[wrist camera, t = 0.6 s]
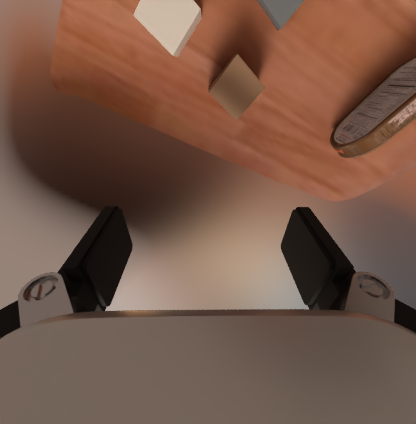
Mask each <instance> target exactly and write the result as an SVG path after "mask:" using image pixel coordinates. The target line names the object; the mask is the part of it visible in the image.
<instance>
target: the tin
mask: <svg viewBox="0 0 416 424" xmlns="http://www.w3.org/2000/svg"><path fill="white" fill-rule="evenodd" d="M415 119H416V57H414V58H412V59H411V60H409V61H408V62H406V63H405V64H403V65H402V66H400V67H399V68H398V69H396V70H395V71H394V72H393V73H391V74H390V75H389V76H388V77H387V78H386V79H385V80H384V81H383V82H382V83H381V84H380V85H378V86H377V87H376V88H375V89H374V90H373V91H372V92H371V93H370V94H369V95H368V96H367V97H366V98H364V99H363V100H362V101H361V102H360V103H359V104H358V105H357V106H356V107H355V108H354V109H353V110H352V111H351V112H350V113H348V114H347V115H346V116H345V117H344V118H343V119H342V120H341V121H340V122H339V123H338V125H337V126H336V127H335V129H334V130H333V132H332V134H331V137H330V143H331V145H332V147H333V148H334V149H335V150H336V151H337V152H338V154H339V155H340V156H341V157H344V158H355V157H359V156H362V155H365V154H367V153H370V152H372V151H374V150H376V149H377V148H379V147H380V146H382V145H383V144H385V143H386V142H387V141H389V140H390V139H391V138H392V137H394V136H395V135H396V134H398V133H399V132H400V131H401V130H403V129H404V128H405V127H407V126H408V125H409V124H410V123H412V122H413V121H414V120H415Z"/></svg>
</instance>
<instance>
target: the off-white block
mask: <svg viewBox="0 0 416 424" xmlns="http://www.w3.org/2000/svg"><path fill="white" fill-rule="evenodd" d="M133 16H134V17H135V18H136V19H137V20H138V21H139V22H140V23H141V24H142V25H143V26H144V27H145V28H146V29H147V30H148V31H149V32H150V33H151V34H152V35H153V36H154V37H155V38H156V39H157V40H158V41H159V42H160V43H161V44H162V45H163V46H164V47H165V48H166V49H167V50H168V51H169V52H170V53H171V54H172V55H173V56H176V57H178V56H179V54H180V53H181V51H182V49H183V48H184V46H185V44H186V43H187V41H188V39H189V38H190V36H191V34H192V33H193V31H194V30H195V28H196V26H197V25H198V23H199V21H200V20H201V18H202V17H201V9H200V8H199V6H198V5H197V4H196V3H195V1H194V0H140V2H139V4H138V6H137V9H136V11H135V13H134V15H133Z"/></svg>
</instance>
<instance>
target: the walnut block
mask: <svg viewBox="0 0 416 424" xmlns="http://www.w3.org/2000/svg"><path fill="white" fill-rule="evenodd" d="M208 89H209V93H210V94H211V95H212V96H213V97H214V98H215V99H216V100H217V101H218V102H219V103H220V104H221V105H222V106H223V107H224V108H225V109H226V110H227V111H228V112H229V113H230V114H231V115H232V116H233V118H234V119H235V120H237V119H238V118H239V117H240V116H241V115H242V113H243V112H244V111H245V110H246V109H247V108H248V107H249V106H250V104H251V103H252V102H253V101H254V100H255V99H256V98H257V96H258V95H259V94H260V93H261V92H262V91H263V90H264V89H265V87H264V86H263V84H262V83H261V82H260V81H259V80H258V78H257V77H256V76H255V75H254V73H253V72H252V71H251V70H250V69H249V67H248V66H247V65H246V64H245V62H244V61H243V60H242V59H241V58H240V56H239V55H238V54H236V55H233V56H232V57H231V59H230V60H229V61H228V63H227V64H226V65H225V67H224V68H223V69H222V71H221V72H220V74H219V75H218V76H217V78H216V79H215V80H214V82H213V83H212V84H211V86H210V87H209V88H208Z"/></svg>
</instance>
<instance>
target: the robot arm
mask: <svg viewBox="0 0 416 424" xmlns="http://www.w3.org/2000/svg"><path fill="white" fill-rule="evenodd" d="M281 250H282V253H283V255H284V257H285V260H286V262H287V264H288V267H289V269H290V271H291V274H292V276H293V278H294V281H295V283H296V285H297V288H298V290H299V293H300V295H301V297H302V300H303V302H304V304H305V305H308V307H309V309H310V310H304V309H299V310H298V309H266V310H265V309H262V310H260V309H255V310H254V309H252V310H247V309H245V310H145V311H144V310H137V311H105V309H106V307H107V306H109V305H110V304H111V301H112V299H113V297H114V294H115V291H116V289H117V287H118V284H119V281H120V279H121V276H122V274H123V271H124V269H125V266H126V264H127V261H128V258H129V256H130V254H131V251H132V241H131V238H130V235H129V231H128V228H127V225H126V221H125V218H124V215H123V211H122V209H119V208H118V207H117V206H105V207H104V209H103V210H102V211H101V213H100V214H99V216H98V217H97V218H96V220H95V221H94V222H93V224H92V225H91V227H90V228H89V229H88V231H87V233H86V234H85V235H84V236H83V238H82V239H81V240H80V242H79V243H78V245H77V246H76V247H75V249H74V250H73V252H72V253H71V255H70V256H69V257H68V259H67V260H66V262H65V263H64V264H63V266H62V267H61V268H60V270H59V271H58V273H54V272H50V273H45V274H42V275H40V276H37V277H35V278H34V279H32V280H31V281H29V282H28V283H27V284H26V285H25V286H24V287H23V288H22V289H21V291H20V293H19V295H18V300H17V301H16V302H14V303H12V304H10V305H8V306H6V307H5V308H3V309H1V310H0V424H416V310H415V309H413V308H411V307H410V306H407V305H406V304H404V303H402V302H400V301H398V300H396V299H395V294H394V291H393V290H392V288H391V287H390V286H389V285H388V284H387V282H385V281H384V280H383V279H381V278H380V277H378V276H376V275H374V274H371V273H368V272H357V273H356V271H355V270H354V269H353V268H354V267H353V265H352V264H351V263H350V261H349V260H348V259H347V257H346V256H345V255H344V253H343V252H342V251H341V249H340V248H339V247H338V245H337V244H336V243H335V241H334V240H333V239H332V237H331V236H330V235H329V233H328V232H327V231H326V229H325V228H324V227H323V225H322V224H321V223H320V221H319V220H318V219H317V217H316V216H315V215H314V213H313V212H312V211H311V209H310V208H308V207H297V208H296V209H295V210H293V211H292V214H291V217H290V220H289V223H288V225H287V229H286V231H285V234H284V237H283V240H282V243H281Z"/></svg>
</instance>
